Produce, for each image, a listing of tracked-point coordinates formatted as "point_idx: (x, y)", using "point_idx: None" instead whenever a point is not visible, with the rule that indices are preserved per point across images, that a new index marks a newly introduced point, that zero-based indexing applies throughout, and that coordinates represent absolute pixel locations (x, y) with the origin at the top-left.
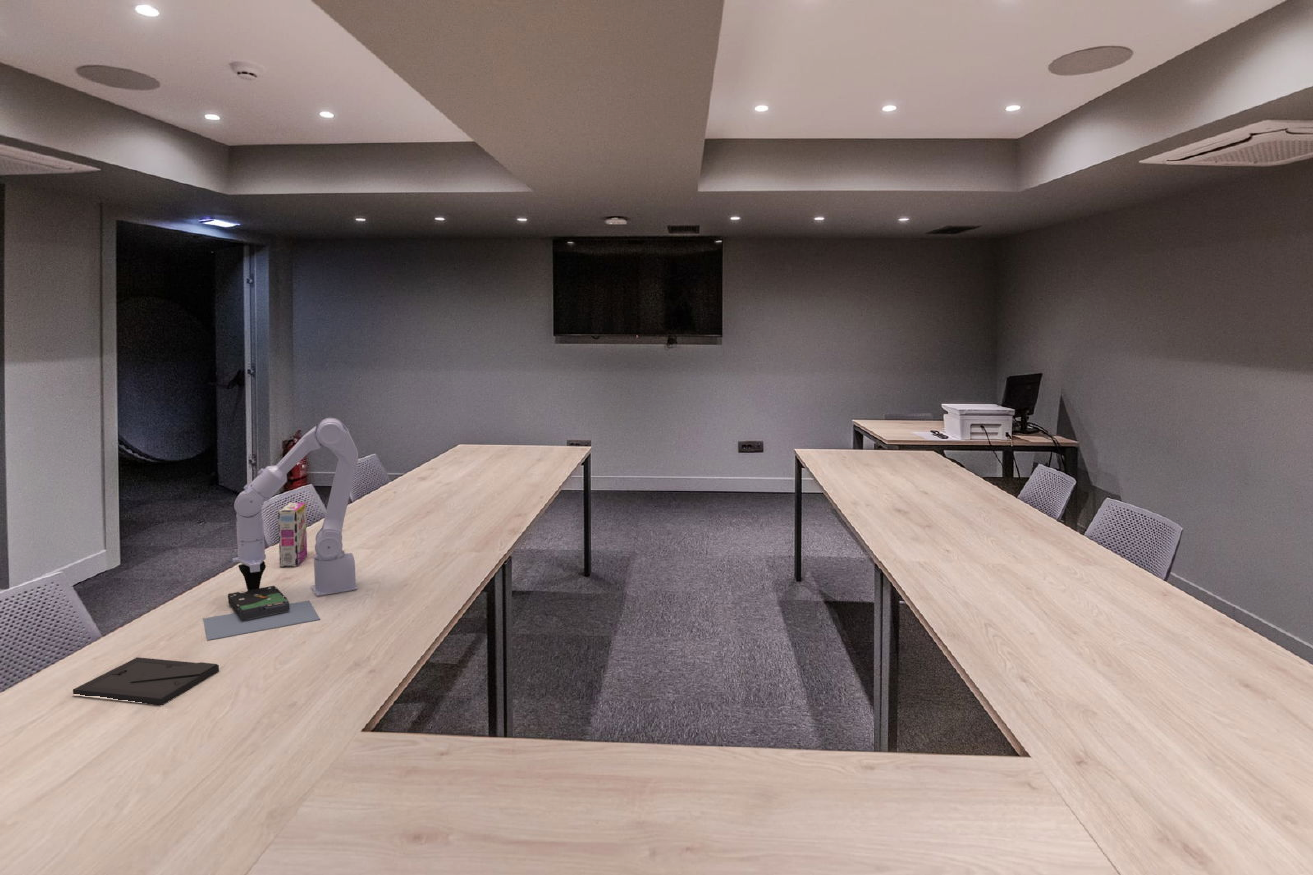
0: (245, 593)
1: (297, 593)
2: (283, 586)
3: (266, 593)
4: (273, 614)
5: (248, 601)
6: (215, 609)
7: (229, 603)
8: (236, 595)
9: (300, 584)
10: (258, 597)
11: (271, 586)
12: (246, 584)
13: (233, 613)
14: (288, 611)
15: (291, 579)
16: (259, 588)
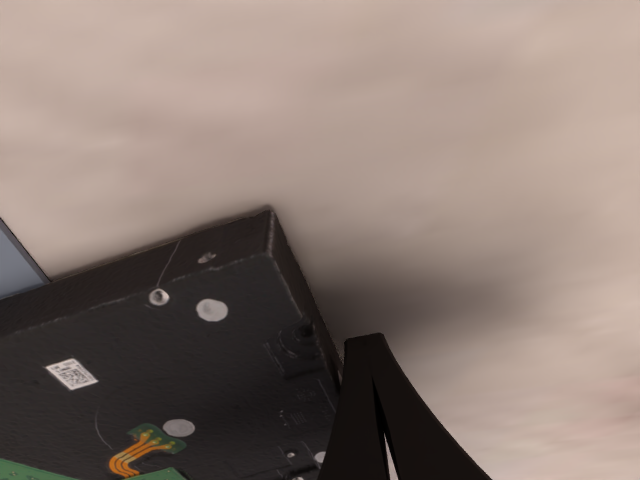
0: (233, 371)
1: None
2: (503, 412)
3: (198, 464)
4: None
5: (5, 420)
6: (163, 122)
7: (206, 233)
8: (192, 325)
9: (488, 457)
10: (108, 448)
11: None
12: (340, 407)
13: (29, 274)
14: None
15: (601, 424)
16: None
